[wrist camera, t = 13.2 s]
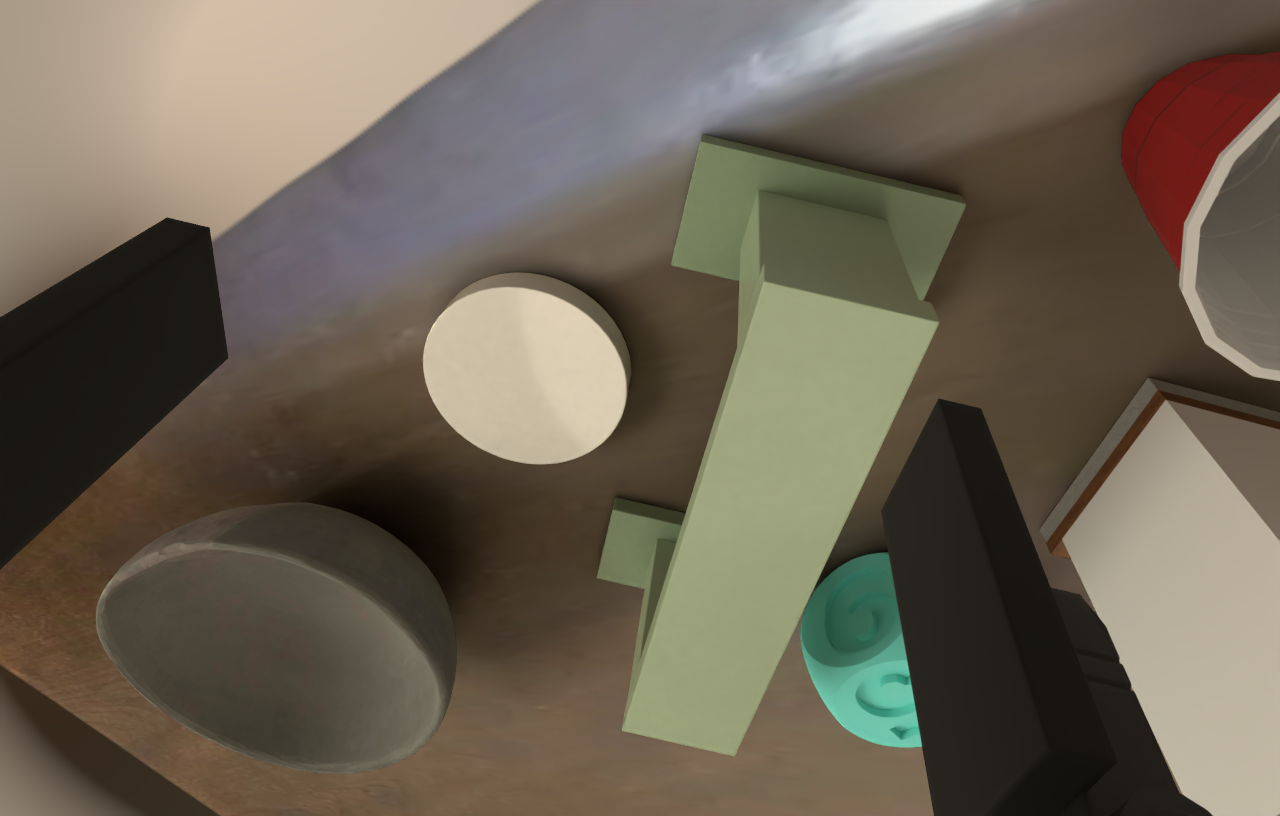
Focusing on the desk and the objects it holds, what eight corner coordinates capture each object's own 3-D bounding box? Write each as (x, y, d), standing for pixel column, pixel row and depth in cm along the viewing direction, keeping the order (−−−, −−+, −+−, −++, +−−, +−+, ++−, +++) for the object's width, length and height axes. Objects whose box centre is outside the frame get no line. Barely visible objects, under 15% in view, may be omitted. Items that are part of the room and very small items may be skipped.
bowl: (343, 685, 62) (279, 809, 53) (136, 506, 53) (23, 621, 45) (547, 612, 54) (510, 743, 46) (346, 390, 46) (255, 502, 37)
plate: (438, 250, 40) (426, 264, 38) (649, 298, 40) (645, 314, 39) (430, 422, 46) (419, 440, 45) (613, 463, 46) (608, 483, 45)
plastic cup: (1424, 40, 30) (1754, 116, 20) (1217, 281, 36) (1393, 431, 26) (1176, -71, 29) (1396, -47, 19) (1005, 196, 35) (1105, 318, 25)
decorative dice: (865, 654, 53) (882, 765, 46) (795, 584, 50) (801, 691, 43) (977, 607, 49) (1011, 720, 43) (907, 529, 46) (933, 637, 40)
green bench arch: (701, 133, 35) (682, 231, 25) (961, 195, 35) (1042, 316, 25) (599, 565, 51) (562, 729, 41) (778, 606, 51) (785, 779, 41)
